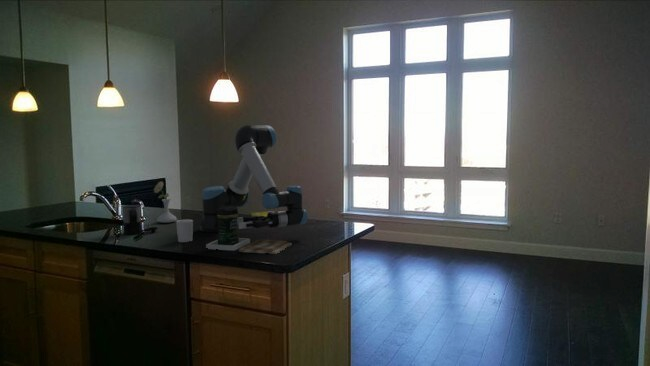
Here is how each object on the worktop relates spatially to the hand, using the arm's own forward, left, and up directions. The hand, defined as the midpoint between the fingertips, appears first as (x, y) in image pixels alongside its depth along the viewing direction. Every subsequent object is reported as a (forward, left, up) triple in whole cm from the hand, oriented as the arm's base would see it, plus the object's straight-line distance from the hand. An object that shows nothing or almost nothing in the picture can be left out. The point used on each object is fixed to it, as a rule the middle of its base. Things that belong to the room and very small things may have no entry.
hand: (234, 223), depth 221 cm
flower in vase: (-69, +44, -11) cm, 83 cm away
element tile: (-14, +67, -11) cm, 69 cm away
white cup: (-28, +3, -11) cm, 30 cm away
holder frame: (-2, -1, -10) cm, 11 cm away
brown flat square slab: (+17, -1, -10) cm, 20 cm away
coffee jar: (-2, -1, -11) cm, 11 cm away
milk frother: (-63, +14, -11) cm, 66 cm away
